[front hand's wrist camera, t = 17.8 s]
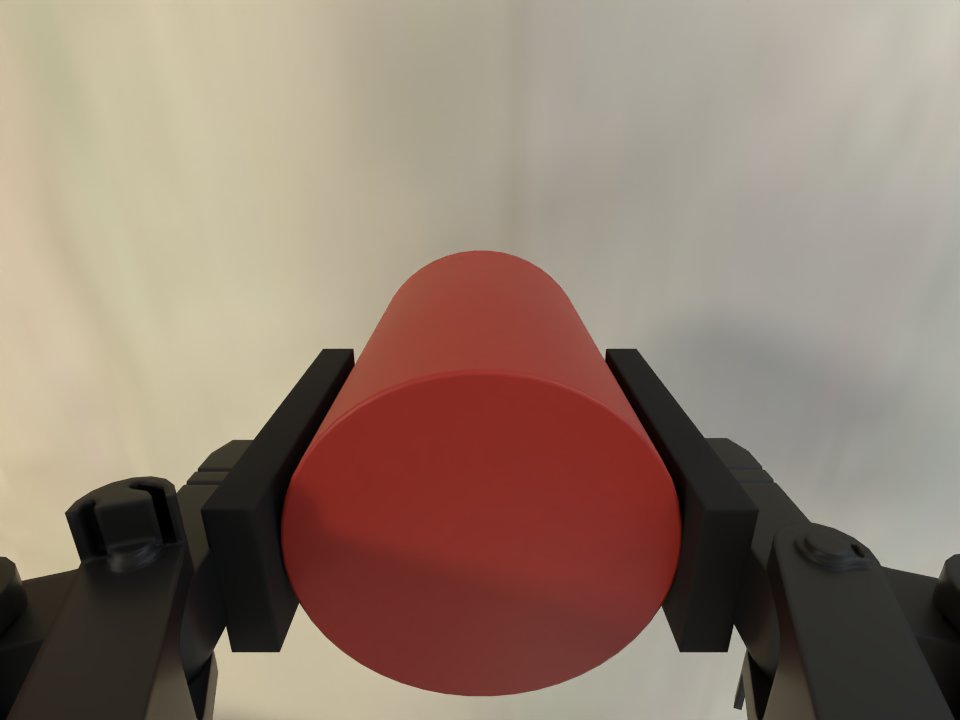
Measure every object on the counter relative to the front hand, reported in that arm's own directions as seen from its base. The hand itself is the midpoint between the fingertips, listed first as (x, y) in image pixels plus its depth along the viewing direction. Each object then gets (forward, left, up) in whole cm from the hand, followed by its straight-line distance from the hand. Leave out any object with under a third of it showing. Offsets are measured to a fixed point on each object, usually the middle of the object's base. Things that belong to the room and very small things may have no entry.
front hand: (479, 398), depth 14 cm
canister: (0, 0, -3) cm, 3 cm away
